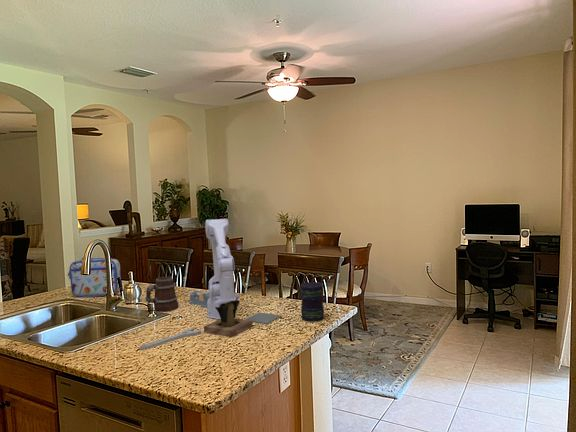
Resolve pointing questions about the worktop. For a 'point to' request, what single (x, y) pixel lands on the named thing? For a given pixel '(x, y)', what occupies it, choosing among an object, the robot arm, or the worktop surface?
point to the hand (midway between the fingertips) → (228, 320)
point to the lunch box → (92, 278)
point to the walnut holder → (228, 331)
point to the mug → (163, 294)
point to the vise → (199, 298)
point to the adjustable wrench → (171, 338)
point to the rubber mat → (263, 318)
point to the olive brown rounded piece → (229, 316)
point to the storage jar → (312, 302)
